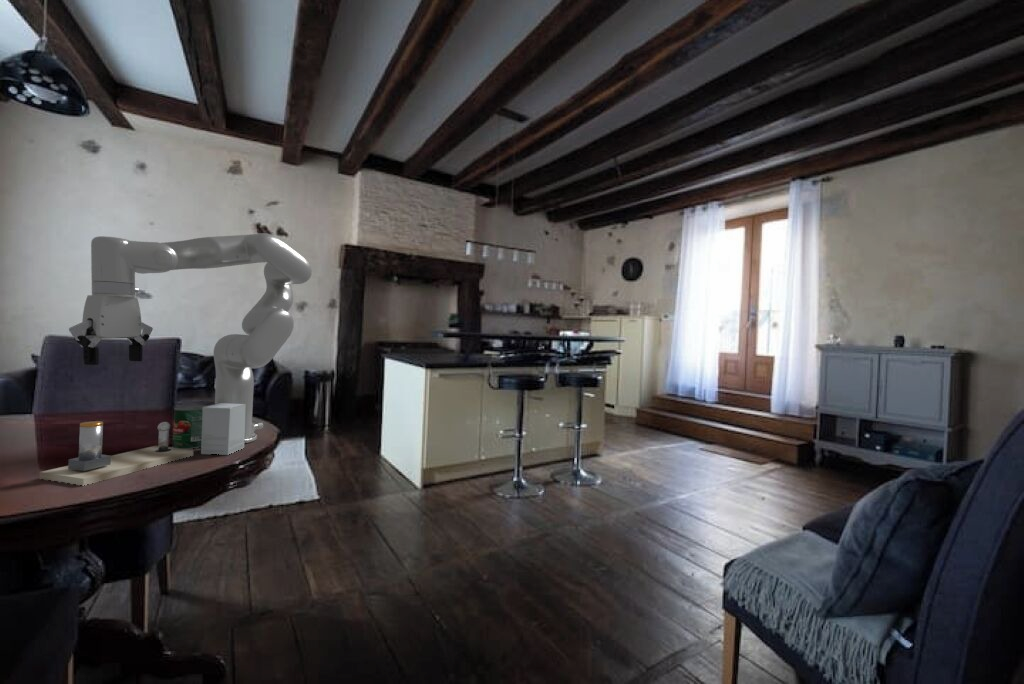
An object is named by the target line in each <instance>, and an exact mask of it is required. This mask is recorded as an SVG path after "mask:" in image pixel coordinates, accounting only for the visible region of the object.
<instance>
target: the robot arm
mask: <svg viewBox="0 0 1024 684" xmlns="http://www.w3.org/2000/svg"><path fill="white" fill-rule="evenodd" d="M90 245H91V246H90V250H91V251H90V255H91V257H90V260H91V262H90V263H91V264H90V265H91V267H90V268H91V269H90V270H91V272H90V273H91V294H89V295H87V296H86V300H85V303H84V306H83V312H82V322H79V323H78V324H76V325H72V326H70V327H69V328H68V331H69V333H70V335H72V337H73V340H74V341H75V342H77V343H78V344H79V346H80V347H81V348H82V349H83V352H82V353H83V355H82V357H83V361H84V362H83V364H84V365H85V366H87V365H88V366H98V365H99V364H100V359H99V358H100V354H99V351H100V350H99V347H97V345H98V344H99V343H100V341H102V339H107V340H108V339H109V340H110V339H113V340H114V339H127V341H129V343H130V344H129V345H128V357H129V358H128V360H129V361H130V362H143V346H145V345H146V342H147V341H148V339H150V338H151V337H150V336H151V334H152V331H153V330H154V329H153V327H152V326H150V325H149V324H147V323H144V322H142V314H141V307H140V304H139V299H138V297H136V294H138V293H139V288H138V287H136V273H137V274H143V275H145V274H162V273H167V272H170V271H176V270H177V271H178V270H190V269H192V270H193V269H196V270H198V269H201V270H206V269H215V268H216V269H217V268H224V267H225V268H226V267H233V266H242V265H250V264H251V265H252V264H259V263H261V264H263V263H265V264H264V268H263V277H264V279H265V282H266V283H265V284H266V290H265V292H264V293H263V295H262V297H261V298H260V299H259V300H258V301H257V302H256V304H254V306H253V307H252V308H251V309H249V312H247V313H246V315H245V316H244V317H243V319H242V322H241V329H242V330H243V332H244V333H245V334H239V333H238V334H237V333H235V334H232V333H231V334H227V335H224V336H222V337H221V338H219V339H218V340H217V341H216V343H215V344H214V348H213V360H214V361H213V362H214V368H215V391H214V392H215V393H214V394H215V396H214V404H219V403H229V404H246V407H245V437H244V444H248V443H252V442H254V441H256V440H257V439H258V434H256V433H255V432H256V430H260V429H263V428H264V423H263V422H257V423H255V422H253V407H254V404H253V403H254V386H255V380H254V379H255V378H254V372H253V369H260V368H262V367H264V366H266V365H267V364H269V363H270V362H271V361H272V360H273V358H274V357H275V356H276V355H277V354H278V353H279V351H280V349H282V347H283V346H284V345H285V343H286V342H287V341H288V339H289V338H290V336H291V335H292V332H293V330H294V324H295V323H294V322H295V321H294V319H293V316H292V314H291V313H290V312H289V311H290V309H291V308H292V306H293V304H294V293H293V287H292V285H300V284H304V283H305V284H306V283H307V282H308V281H309V280H310V278H311V277H312V273H313V270H312V267H311V264H310V263H309V261H308V260H307V259H306V258H305V257H303V255H301V254H300V253H299V252H298V251H296V250H295V249H293V248H292V247H291V246H289V245H288V244H287V243H286V242H284V241H283V240H281V239H280V238H279V237H277V236H274V235H273V234H270V233H267V232H266V233H265V232H263V233H262V232H261V233H253V234H239V235H237V234H235V235H222V236H221V235H220V236H219V235H218V236H205V237H196V238H191V239H186V240H179V241H169V242H168V241H167V242H157V241H136V240H135V241H134V240H129V239H126V238H121V237H117V236H116V237H115V236H103V235H102V236H95V237H93V238H92V240H91V244H90Z"/></svg>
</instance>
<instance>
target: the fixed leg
mask: <svg viewBox="0 0 1024 684" xmlns="http://www.w3.org/2000/svg"><path fill="white" fill-rule="evenodd" d="M171 428H172V427H171V423H169V422H168V421H162V422H160V423H158V425H157V430H158V445H157V446H158V451H167V450H168V447H169V442H170V441H169V438H170V434H169V433H170V430H171Z"/></svg>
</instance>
